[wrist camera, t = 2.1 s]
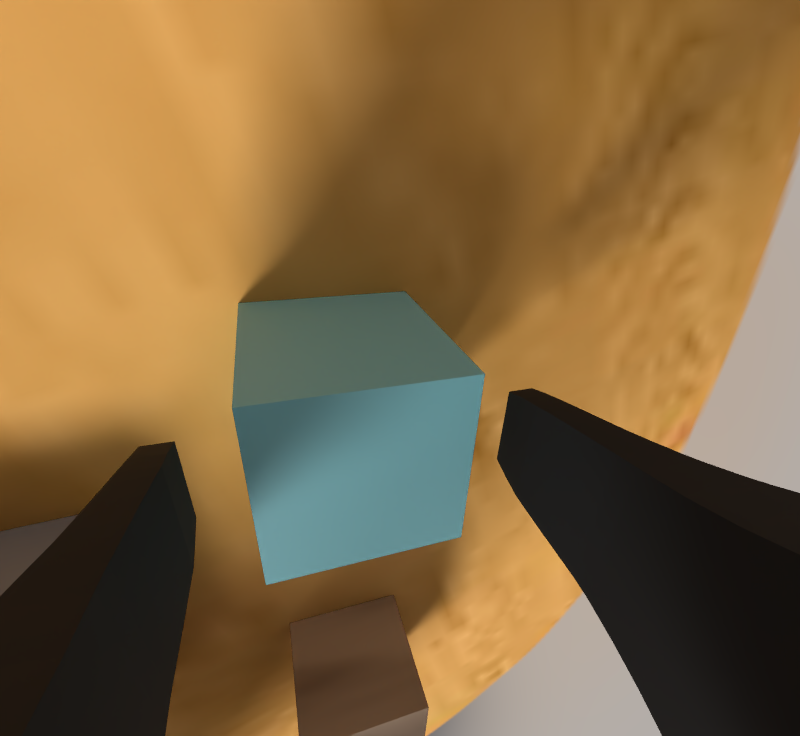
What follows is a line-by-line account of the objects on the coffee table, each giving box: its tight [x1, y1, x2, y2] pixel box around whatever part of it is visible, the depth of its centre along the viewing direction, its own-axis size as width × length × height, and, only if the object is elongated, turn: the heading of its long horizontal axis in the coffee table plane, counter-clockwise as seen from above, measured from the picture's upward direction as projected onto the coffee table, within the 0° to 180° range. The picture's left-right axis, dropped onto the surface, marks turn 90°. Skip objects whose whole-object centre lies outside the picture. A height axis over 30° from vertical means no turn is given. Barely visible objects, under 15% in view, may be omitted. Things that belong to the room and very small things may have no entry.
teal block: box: [232, 291, 485, 585], centre depth 11 cm, size 4×4×5 cm
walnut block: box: [290, 595, 429, 736], centre depth 18 cm, size 4×4×4 cm
